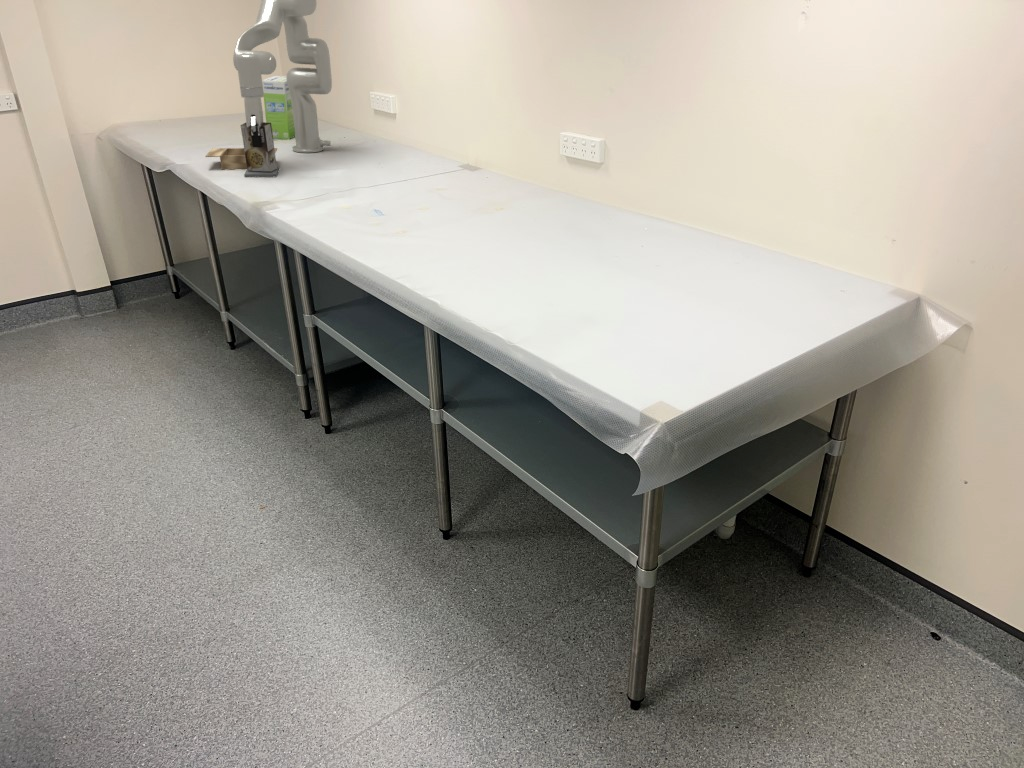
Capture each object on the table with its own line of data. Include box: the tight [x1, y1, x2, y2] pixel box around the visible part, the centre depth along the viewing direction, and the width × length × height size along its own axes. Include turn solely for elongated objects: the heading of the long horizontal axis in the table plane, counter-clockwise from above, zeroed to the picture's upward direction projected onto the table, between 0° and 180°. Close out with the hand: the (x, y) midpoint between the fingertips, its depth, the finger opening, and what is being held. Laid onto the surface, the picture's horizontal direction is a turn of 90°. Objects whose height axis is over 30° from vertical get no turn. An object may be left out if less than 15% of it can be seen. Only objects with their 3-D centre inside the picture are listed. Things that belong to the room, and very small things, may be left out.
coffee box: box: [240, 121, 278, 172], centre depth 267 cm, size 9×6×16 cm
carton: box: [205, 147, 278, 170], centre depth 280 cm, size 24×14×5 cm, turn 100°
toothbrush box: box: [262, 75, 295, 140], centre depth 329 cm, size 18×10×24 cm, turn 178°
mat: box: [243, 166, 280, 178], centre depth 271 cm, size 11×12×1 cm
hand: (258, 144), depth 267 cm, fingers closed on coffee box, 7 cm apart
